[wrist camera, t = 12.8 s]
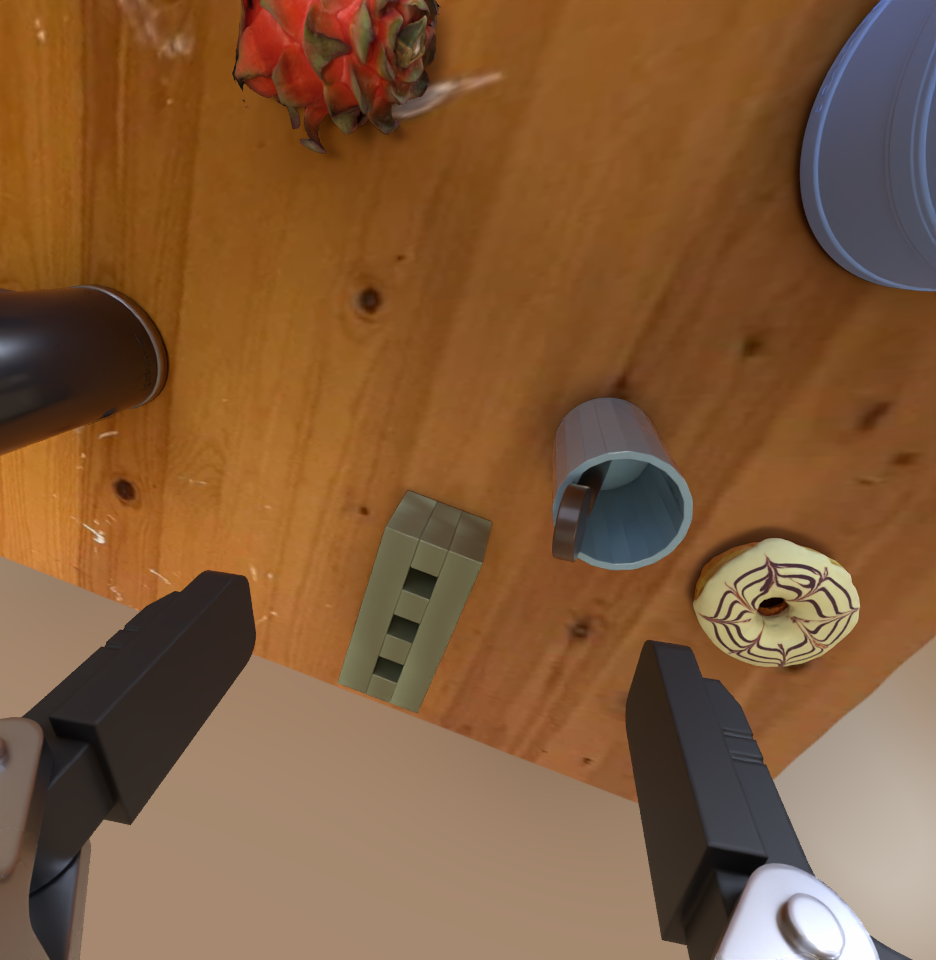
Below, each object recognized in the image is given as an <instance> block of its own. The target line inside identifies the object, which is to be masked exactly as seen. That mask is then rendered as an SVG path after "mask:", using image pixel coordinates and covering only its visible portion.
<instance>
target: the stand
mask: <svg viewBox="0 0 936 960" xmlns="http://www.w3.org/2000/svg"><path fill="white" fill-rule="evenodd" d="M491 525H492V522H490V521H488V520H485V519H482V518H480V517H477V516H475V515H472V514H469V513H467V512H464V511H463V512H462V511H461V510H458V509H456V508H453V507H451V506H448V505H445V504H443V503H440V502H437V501H435V500H432V499H429V498H427V497H424V496H422V495H419V494H416V493H414V492H411V491H407V492H406V494H405V496H404V497H403V499H402V500H401V502H400V504H399V505H398V507H397V509H396V510H395V512H394V514H393V515H392V517H391V518H390V520H389V522H388V523H387V525H386V527H385V530H384V533H383V536H382V539H381V543H380V546H379V549H378V552H377V556H376V559H375V562H374V565H373V569H372V572H371V575H370V578H369V582H368V585H367V588H366V592H365V595H364V598H363V601H362V605H361V608H360V611H359V614H358V618H357V621H356V624H355V627H354V631H353V634H352V637H351V640H350V644H349V647H348V650H347V653H346V657H345V660H344V663H343V667H342V670H341V673H340V676H339V680H338V683H339V684H341V685H344V686H347V687H349V688H352V689H354V690H357V691H360V692H362V693H366V694H367V695H370V696H373V697H375V698H378V699H380V700H383V701H386V702H388V703H389V702H390V703H391V704H394V705H396V706H399V707H402V708H404V709H407V710H410V711H412V712H415V713H418V711H419V709H420V707H421V704H422V702H423V700H424V697H425V695H426V693H427V691H428V688H429V686H430V684H431V681H432V679H433V677H434V674H435V672H436V670H437V668H438V665H439V663H440V661H441V658H442V656H443V654H444V651H445V649H446V647H447V645H448V642H449V640H450V638H451V635H452V633H453V631H454V628H455V626H456V624H457V622H458V619H459V617H460V615H461V612H462V610H463V608H464V605H465V603H466V601H467V599H468V596H469V594H470V592H471V589H472V587H473V585H474V582H475V580H476V578H477V576H478V573H479V571H480V569H481V566H482V564H483V560H484V556H485V551H486V547H487V543H488V538H489V534H490V530H491Z"/></svg>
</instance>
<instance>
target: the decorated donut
mask: <svg viewBox="0 0 936 960" xmlns="http://www.w3.org/2000/svg"><path fill="white" fill-rule="evenodd" d="M771 597H782V598H783V599H784V601H783V602H782V603H780V604H778V605H776V606H773V607H768V608H763V607H762V608H761V607H759V604H760V603H761V602H762V601H763V600H765V599H769V598H771ZM693 608H694V610H695V613H696V615H697V618H698V621H699V624H700V626H701V627H702V629H703V630H704V632H705V633H706V634H707V636H708V637H709V638H710V639H711V641H712V642H713V644H714V645H716V646H717V647H718V648H719V649H720V650H722V651H723V652H725V653H726V654H728V655H730V656H732V657H734V658H736V659H738V660H740V661H743V662H746V663H750V664H752V665H755V666H764V667H772V666H776V667H783V666H789V665H794V664H801V663H804V662H807V661H809V660H812V659H815V658H817V657H820V656H822V655H823V654H825V653H826V652H827V651H828V650H830V649H831V648H832V647H834V646H835V645H836V644H837V643H838V642H840V641H841V640H842V639H843V638H844V637H845V636H846V635H848V634H849V633H850V631H851V630H852V629H853V628H854V626H855V625H856V623H857V622H858V617H859V608H860V604H859V597H858V594H857V591H856V588H855V587H854V586H853V584H852V581H851V576H850V574H849V573H848V572H847V571H846V570H845V569H844V568H843V567H842V566H841V565H840V564H839V563H837V562H836V561H835V560H833V559H831V558H828V557H827V556H825V555H823V554H822V553H820V552H817V551H815V550H813V549H811V548H807V547H803V546H800V545H796V544H794V543H793V542H791V541H787V540H784V539H780V538H769V539H765V540H763V541H761V542H753V543H749V544H745V545H741V546H737V547H733V548H731V549H729V550H727V551H726V552H724V553H722V554H720V555H718V556H716V557H714V558H712V559H711V560H710V562H708V563H707V564H706V565H705V566H704V567H703V569H702V572H701V575H700V577H699V579H698V581H697V584H696V587H695V600H694V602H693Z"/></svg>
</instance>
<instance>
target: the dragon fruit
mask: <svg viewBox="0 0 936 960" xmlns="http://www.w3.org/2000/svg"><path fill="white" fill-rule="evenodd" d="M241 4H242V12H241V21H240V23H239V37H238V43H237V46H236V47H237V49H236V63H235V66H234V70H233V72H232V74H233V77H234V80H235V79H236V80H237V82H238V84H239V86H240V88H241V89H242V91H243V84H244V83H245V84H246V85H247V86H248V87H249V88H250V89H252V90H253V91H254V92H256V93H258V94H259V95H261V96H263V97H266V98H270V97H272V96H274V97H275V98H276V100H277V102H278V103H281V104H282V105H284V106H287V109H288V111H289V115H290V119H291V124H292V128H293V129H297V128H299V126H300V117H299V114H298V111H297V110H296V108H295V107H305V116H304V126H305V130H306V132H307V134H308V136H309V138H310V139H300V141H301V144H302V145H304V146H305V147H307V148H309V149H311V150H312V151H315V152H318V153H324V154H326V153H327V151H326V150H325V149H324V148H323V146H322V144H321V143H320V138H319V136H318V135H319V134H318V130H319V126H320V124H321V122H322V121H323V120H324V118H325V117H326V115H327V114H328V113H329V114H330V117H331V119H332V121H333V122H334V123H335V125H336V126H337V127H338V128H339V129H340V130H341V131H342V132H343V133H344V134H351V133H352V132H354V131H355V130H356V128H357V126H358V127H360V126H362V125H364V124H366V122H367V120H368V119H369V120H370V121H371V123H372V124H373V125H374V126H375V127H376V128H377V129H378V130H380V131H381V132H382V133H383V134H387V135H389V134H390V133H392V132H394V131H396V130H397V128H398V127H399V121H398V120H397V119H395V120H394V122H393V121H392V117H391V102H393V103H397V104H398V105H402V104H404V103H406V102H407V101H408V100H411V99H414V98H417V97H421V96H422V95H423V94H424V93H425V91H426V90H427V87H428V86H429V78H428V74H427V72H426V70H425V68H426V67H427V66H428V65H430V64H431V63H432V62H433V60H434V58H435V52H436V46H435V43H436V34H435V27H436V23H437V20H436V15H437V14H438V15H439V12H438V7H440V6H439V5H438V4H437V2H436V1H435V0H241ZM440 8H441V7H440ZM235 84H236V83H235ZM243 101H244V100H243ZM244 102H245V101H244ZM245 107H246V106H245ZM247 107H248V106H247Z"/></svg>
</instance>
